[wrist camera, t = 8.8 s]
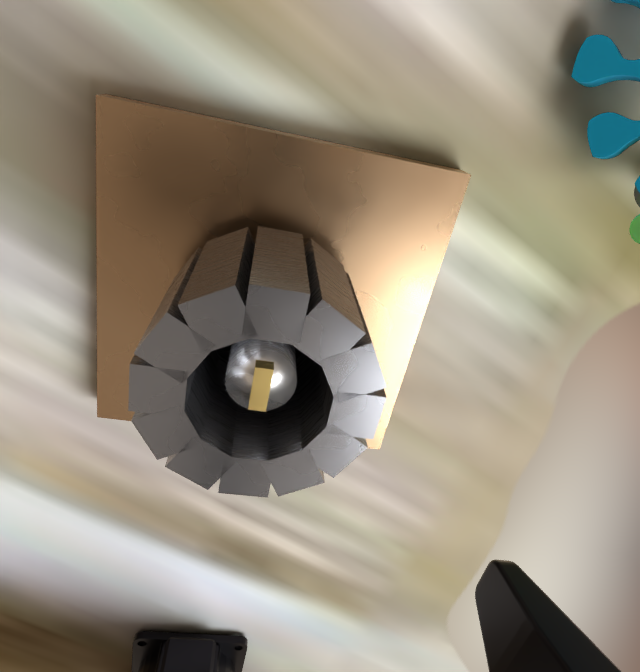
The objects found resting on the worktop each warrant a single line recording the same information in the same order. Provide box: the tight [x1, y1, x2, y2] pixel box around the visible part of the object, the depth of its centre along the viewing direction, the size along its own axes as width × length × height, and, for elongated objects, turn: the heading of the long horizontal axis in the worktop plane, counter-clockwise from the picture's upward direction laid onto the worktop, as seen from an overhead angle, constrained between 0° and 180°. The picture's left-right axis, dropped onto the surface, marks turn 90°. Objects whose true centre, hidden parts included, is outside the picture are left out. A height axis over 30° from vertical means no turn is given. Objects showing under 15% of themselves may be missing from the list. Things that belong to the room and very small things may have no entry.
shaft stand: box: [96, 94, 471, 449], centre depth 16 cm, size 12×12×6 cm
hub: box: [128, 226, 387, 497], centre depth 15 cm, size 7×7×5 cm
